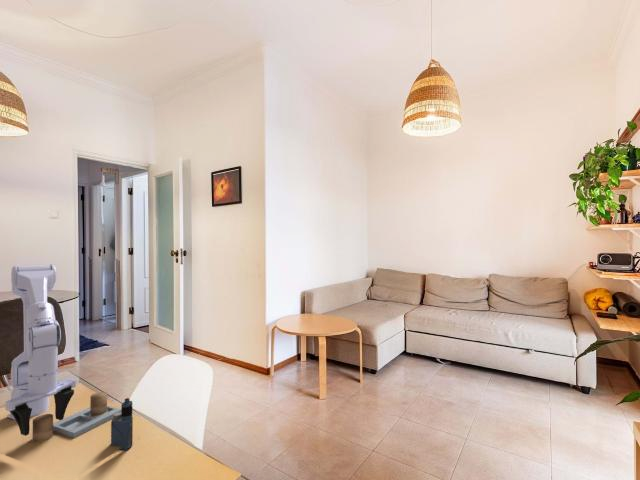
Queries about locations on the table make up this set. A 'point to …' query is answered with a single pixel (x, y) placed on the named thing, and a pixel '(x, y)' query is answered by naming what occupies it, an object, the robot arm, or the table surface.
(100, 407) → the sleeve seated
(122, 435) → the vaping device
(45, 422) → the sleeve
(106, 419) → the grey divided tray
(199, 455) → the table surface
